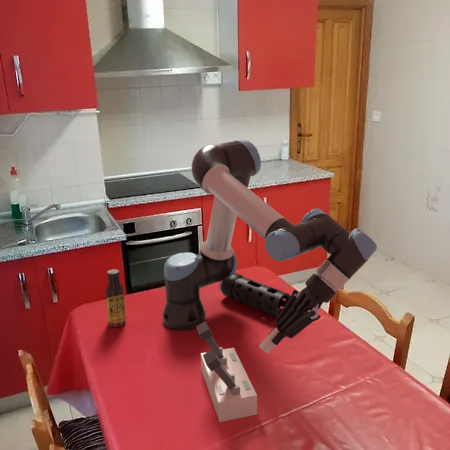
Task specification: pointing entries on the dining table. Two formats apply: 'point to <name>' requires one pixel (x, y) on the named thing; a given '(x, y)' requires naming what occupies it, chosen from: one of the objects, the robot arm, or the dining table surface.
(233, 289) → the muzzle brake
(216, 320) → the dining table surface
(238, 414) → the switch panel
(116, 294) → the sauce bottle
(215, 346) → the inner lever
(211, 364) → the outer lever
